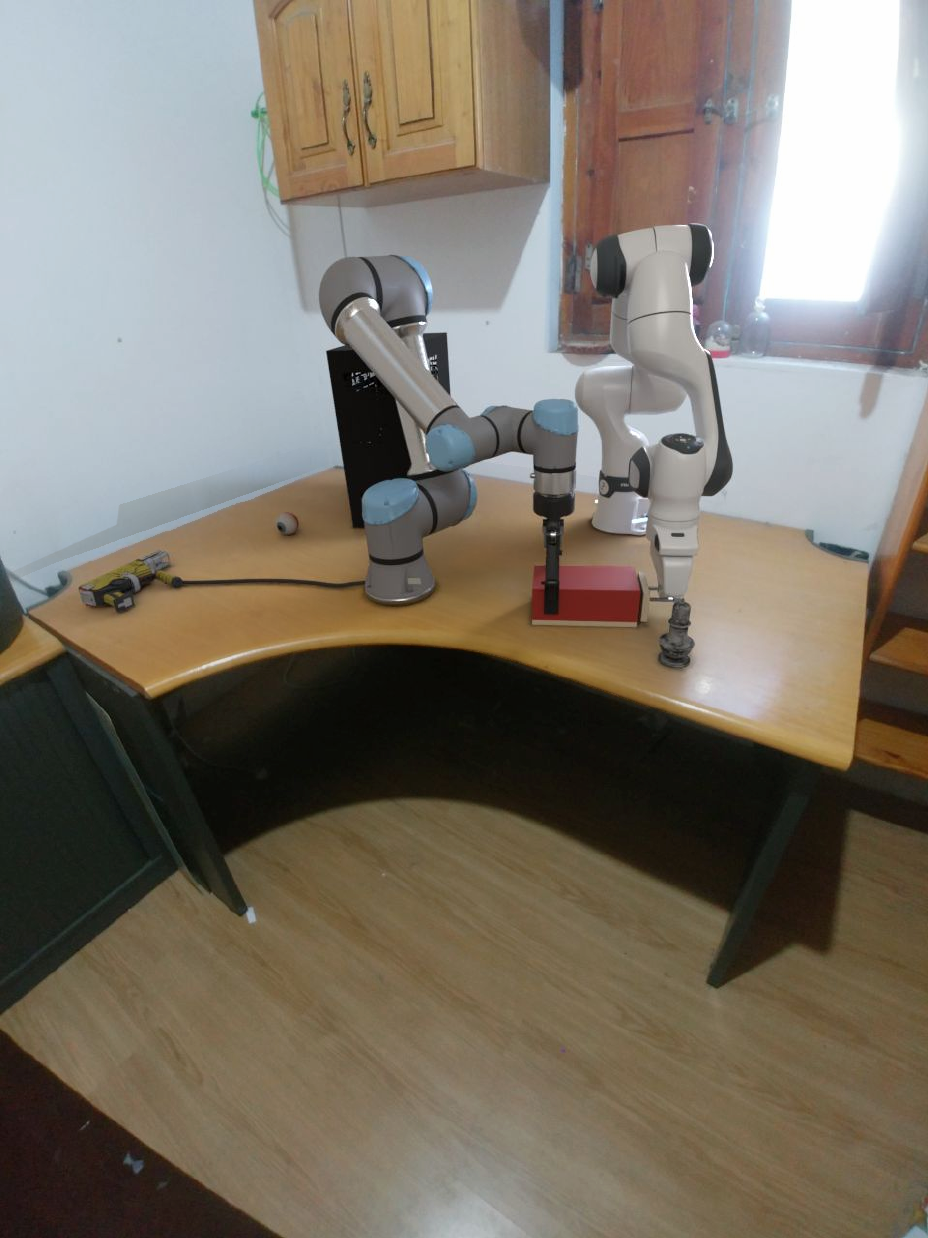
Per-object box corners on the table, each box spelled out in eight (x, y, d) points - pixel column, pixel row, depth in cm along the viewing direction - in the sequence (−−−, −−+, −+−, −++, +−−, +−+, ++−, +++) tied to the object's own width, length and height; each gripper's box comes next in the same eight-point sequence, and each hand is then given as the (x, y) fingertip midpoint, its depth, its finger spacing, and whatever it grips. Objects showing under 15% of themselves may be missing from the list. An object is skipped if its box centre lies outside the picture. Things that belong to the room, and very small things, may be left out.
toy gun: (206, 558, 145) (156, 547, 149) (127, 600, 125) (71, 586, 129) (209, 576, 148) (160, 565, 152) (132, 620, 128) (77, 606, 132)
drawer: (672, 599, 121) (676, 572, 118) (680, 622, 113) (684, 594, 110) (548, 596, 124) (549, 570, 121) (547, 619, 117) (548, 591, 114)
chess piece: (694, 669, 101) (704, 607, 95) (657, 667, 102) (665, 605, 96) (690, 650, 106) (699, 590, 100) (655, 648, 107) (662, 588, 101)
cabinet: (630, 600, 123) (634, 566, 119) (636, 627, 114) (640, 590, 110) (533, 599, 126) (534, 565, 122) (532, 624, 117) (532, 588, 113)
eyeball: (273, 537, 164) (268, 516, 161) (287, 528, 169) (282, 508, 166) (291, 539, 161) (286, 518, 158) (305, 530, 166) (301, 510, 163)
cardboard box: (422, 529, 163) (406, 348, 140) (352, 527, 167) (325, 350, 145) (456, 486, 194) (446, 332, 172) (396, 484, 199) (379, 334, 176)
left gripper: (535, 472, 119) (534, 573, 130) (530, 513, 99) (530, 628, 110) (573, 471, 118) (569, 573, 129) (576, 513, 98) (571, 629, 109)
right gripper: (646, 509, 118) (639, 573, 125) (661, 550, 101) (652, 622, 107) (679, 509, 117) (671, 573, 124) (701, 550, 100) (689, 623, 107)
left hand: (551, 599), depth 119 cm, fingers closed on cabinet, 10 cm apart
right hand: (662, 596), depth 116 cm, fingers closed
